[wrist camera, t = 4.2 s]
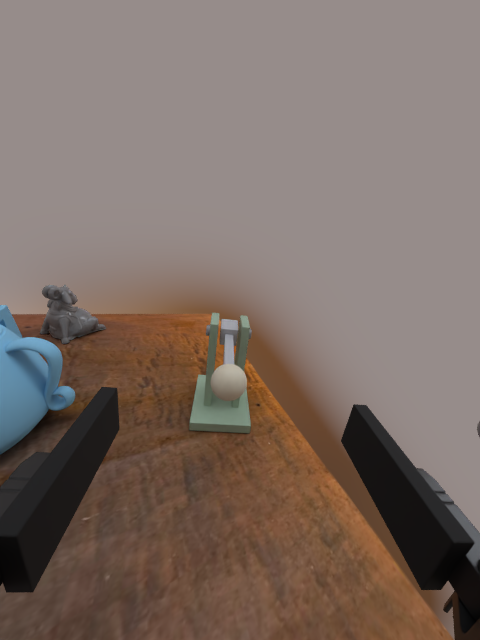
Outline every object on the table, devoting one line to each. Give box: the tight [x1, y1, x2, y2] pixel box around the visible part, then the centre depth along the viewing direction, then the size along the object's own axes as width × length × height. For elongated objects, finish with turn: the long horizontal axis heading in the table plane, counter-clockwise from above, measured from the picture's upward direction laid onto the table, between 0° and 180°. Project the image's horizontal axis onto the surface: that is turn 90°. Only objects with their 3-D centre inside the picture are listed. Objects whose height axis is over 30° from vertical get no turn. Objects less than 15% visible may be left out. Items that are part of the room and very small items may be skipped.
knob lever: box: [211, 319, 247, 401], centre depth 29 cm, size 13×4×4 cm, turn 3°
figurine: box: [40, 285, 106, 344], centre depth 52 cm, size 8×10×11 cm
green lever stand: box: [189, 313, 251, 433], centre depth 35 cm, size 11×8×14 cm
